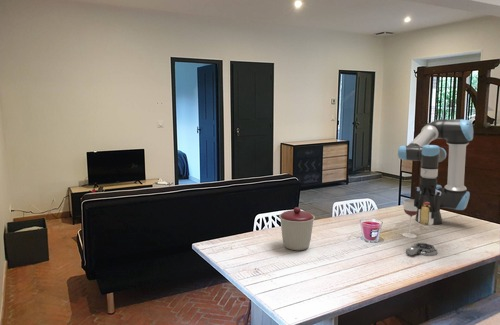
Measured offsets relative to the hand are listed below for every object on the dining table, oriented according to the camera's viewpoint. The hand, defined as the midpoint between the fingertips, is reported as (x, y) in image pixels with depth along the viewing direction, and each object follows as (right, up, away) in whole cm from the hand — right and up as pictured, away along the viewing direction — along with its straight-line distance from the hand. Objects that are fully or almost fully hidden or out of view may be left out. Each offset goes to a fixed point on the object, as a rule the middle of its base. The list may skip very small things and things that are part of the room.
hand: (425, 222), depth 183 cm
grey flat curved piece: (-2, -15, +1) cm, 15 cm away
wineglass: (+3, -11, +25) cm, 27 cm away
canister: (-63, -14, +8) cm, 65 cm away
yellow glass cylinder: (0, 0, 0) cm, 0 cm away
